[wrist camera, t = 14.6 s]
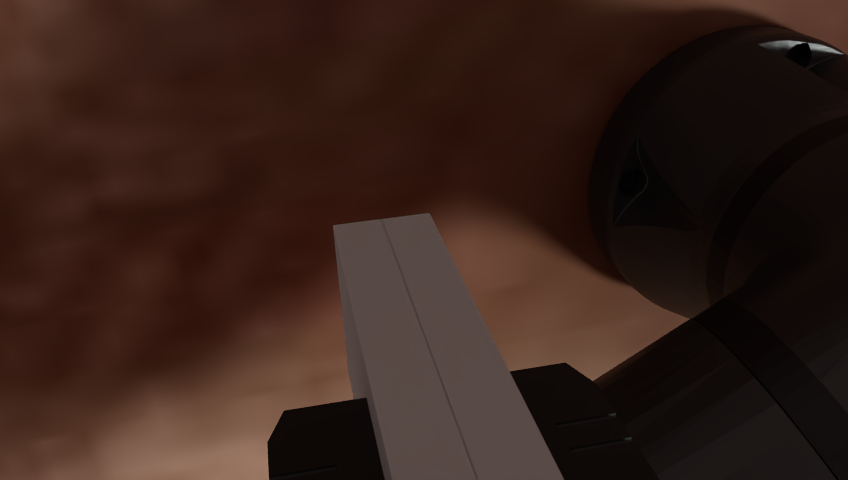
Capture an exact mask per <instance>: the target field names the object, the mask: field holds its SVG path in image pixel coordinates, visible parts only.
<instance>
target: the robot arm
mask: <svg viewBox="0 0 848 480" xmlns="http://www.w3.org/2000/svg"><path fill="white" fill-rule="evenodd" d="M589 201H590V213H591V219H592V224H593V228H594V231H595V234H596V237H597V239H598V242H599V244H600V246H601V248H602V250H603V252H604V253H605V255H606V256H607V258H608V260H609V261H610V262H611V263H612V265H613V266H614V267H615V268H616V269H617V270H618V271H619V273H620V274H621V275H622V276H623V277H624V278H625V279H626V280H627V282H628V283H629V284H630V285H631V286H632V287H633V288H634V289H635V290H636V291H638V292H639V293H640V294H641V295H643V296H644V297H645V298H647V299H648V300H650V301H651V302H653V303H655V304H656V305H658V306H660V307H662V308H664V309H666V310H669V311H671V312H674V313H676V314H679V315H681V316H684V317H686V318H689V319H690V320H688V321H686V322H685V323H683V324H682V325H680V326H678V327H677V328H675V329H674V330H672V331H671V332H669V333H667V334H666V335H664V336H663V337H661V338H660V339H658V340H657V341H655V342H653V343H652V344H650V345H649V346H647V347H646V348H644V349H642V350H641V351H639V352H638V353H636V354H635V355H633V356H632V357H630V358H628V359H627V360H625V361H624V362H622V363H621V364H619V365H618V366H616V367H614V368H613V369H611V370H610V371H608V372H607V373H605V374H603V375H602V376H600V377H599V378H597V379H596V380H594V381H591V380H590V379H589V378H587V377H586V376H584V375H583V374H581V373H580V372H578V371H577V370H575V369H574V368H573V367H571V366H570V365H568V364H567V363H560V364H554V365H548V366H541V367H535V368H529V369H523V370H516V371H510V372H509V370H508V368H507V366H506V364H505V362H504V360H503V358H502V356H501V354H500V352H499V350H498V348H497V346H496V344H495V342H494V340H493V338H492V336H491V334H490V332H489V330H488V328H487V326H486V324H485V322H484V320H483V318H482V316H481V314H480V312H479V310H478V308H477V306H476V304H475V302H474V300H473V298H472V296H471V294H470V292H469V290H468V288H467V286H466V284H465V282H464V281H463V279H462V277H461V275H460V273H459V271H458V269H457V267H456V265H455V263H454V261H453V259H452V257H451V255H450V253H449V251H448V249H447V247H446V245H445V243H444V241H443V239H442V237H441V235H440V233H439V231H438V229H437V227H436V225H435V223H434V221H433V219H432V217H431V215H430V213H425V214H417V215H410V216H402V217H394V218H386V219H378V220H370V221H362V222H354V223H346V224H339V225H333V232H334V241H335V251H336V260H337V269H338V279H339V288H340V297H341V306H342V316H343V325H344V334H345V343H346V353H347V362H348V371H349V377H350V382H351V387H352V392H353V397H354V400H348V401H341V402H335V403H329V404H323V405H317V406H311V407H304V408H298V409H292V410H286V411H284V412H283V414H282V416H281V417H280V419H279V421H278V423H277V425H276V427H275V429H274V431H273V433H272V435H271V437H270V439H269V440H268V466H269V480H848V55H847V54H845V53H844V52H842V51H841V50H839V49H838V48H836V47H834V46H832V45H830V44H828V43H826V42H824V41H821V40H819V39H816V38H813V37H810V36H807V35H804V34H801V33H798V32H795V31H792V30H789V29H785V28H780V27H774V26H759V25H756V26H743V27H735V28H731V29H726V30H722V31H719V32H715V33H712V34H710V35H707V36H704V37H702V38H700V39H697V40H695V41H693V42H691V43H689V44H687V45H686V46H684V47H682V48H680V49H679V50H677V51H675V52H674V53H672V54H671V55H669V56H668V57H667V58H665V59H664V60H662V61H661V62H660V63H659V64H657V65H656V66H655V67H654V68H653V69H651V70H650V71H649V72H648V73H647V74H646V75H645V76H644V77H643V78H642V79H641V80H640V81H639V82H638V83H637V84H636V85H635V86H634V88H633V89H632V90H631V91H630V92H629V94H628V95H627V96H626V97H625V99H624V100H623V102H622V103H621V104H620V106H619V107H618V109H617V110H616V112H615V113H614V115H613V117H612V119H611V120H610V122H609V124H608V126H607V128H606V130H605V132H604V134H603V136H602V139H601V141H600V144H599V147H598V150H597V153H596V156H595V159H594V163H593V168H592V173H591V179H590V193H589Z"/></svg>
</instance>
